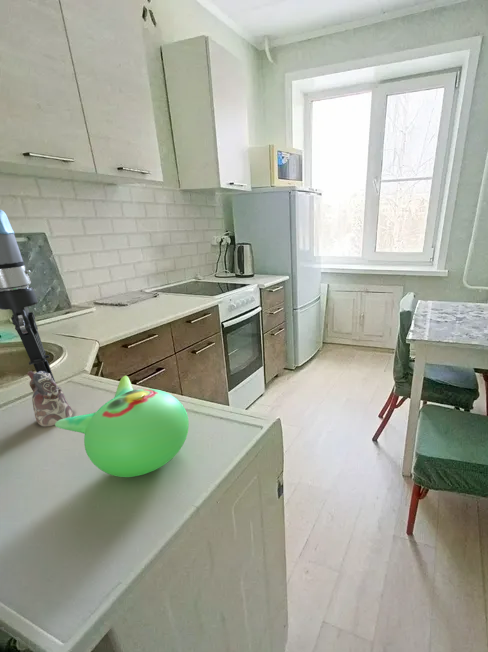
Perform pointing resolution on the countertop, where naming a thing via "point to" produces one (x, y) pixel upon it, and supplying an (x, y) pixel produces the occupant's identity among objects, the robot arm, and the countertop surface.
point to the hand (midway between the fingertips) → (49, 385)
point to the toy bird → (132, 430)
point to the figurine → (48, 399)
